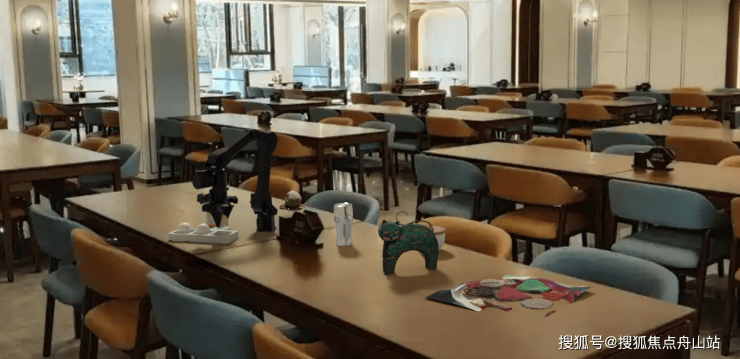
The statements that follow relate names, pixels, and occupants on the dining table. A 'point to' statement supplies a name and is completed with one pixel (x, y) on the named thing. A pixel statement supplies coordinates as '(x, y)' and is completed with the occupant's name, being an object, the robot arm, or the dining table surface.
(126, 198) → the dining table surface
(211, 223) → the supplement box
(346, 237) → the beer glass
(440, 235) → the lidded jar
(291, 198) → the skull
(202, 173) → the robot arm
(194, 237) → the carton
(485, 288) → the platter
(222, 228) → the egg stand
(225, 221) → the brown egg
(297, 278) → the dining table surface
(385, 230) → the ceramic cat
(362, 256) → the dining table surface
